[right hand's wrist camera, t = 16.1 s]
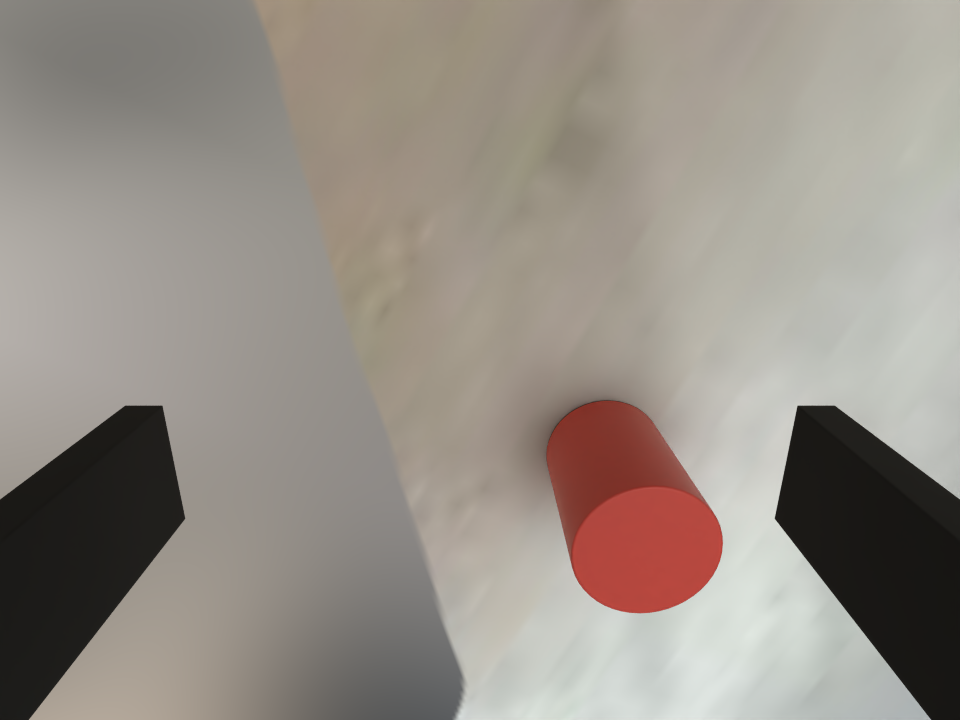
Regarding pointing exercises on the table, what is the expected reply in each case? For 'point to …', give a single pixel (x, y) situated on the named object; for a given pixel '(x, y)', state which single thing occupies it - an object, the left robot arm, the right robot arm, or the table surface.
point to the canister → (630, 510)
